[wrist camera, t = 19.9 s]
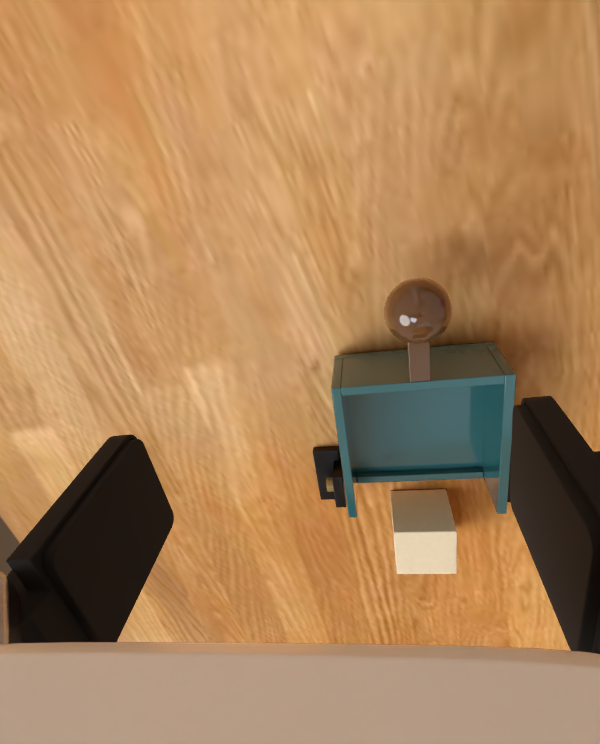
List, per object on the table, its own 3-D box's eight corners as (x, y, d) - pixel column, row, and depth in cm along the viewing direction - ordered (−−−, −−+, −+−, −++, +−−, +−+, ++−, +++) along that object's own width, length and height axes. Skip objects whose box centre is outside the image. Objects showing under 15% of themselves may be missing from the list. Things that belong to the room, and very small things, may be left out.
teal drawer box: (323, 270, 28) (314, 300, 23) (497, 248, 26) (535, 275, 21) (350, 473, 36) (348, 535, 30) (487, 467, 34) (514, 532, 28)
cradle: (313, 447, 35) (310, 468, 33) (526, 435, 32) (538, 458, 30) (321, 494, 37) (319, 517, 35) (521, 488, 35) (533, 512, 32)
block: (397, 574, 34) (393, 530, 38) (456, 574, 34) (446, 529, 38) (393, 532, 32) (389, 490, 36) (457, 531, 32) (446, 488, 36)
